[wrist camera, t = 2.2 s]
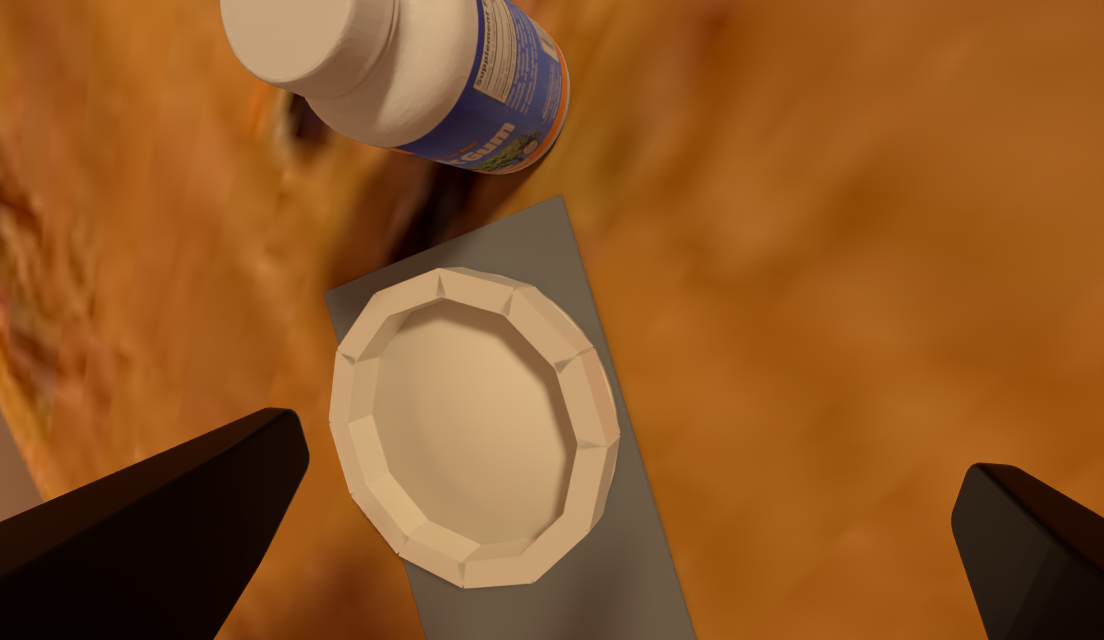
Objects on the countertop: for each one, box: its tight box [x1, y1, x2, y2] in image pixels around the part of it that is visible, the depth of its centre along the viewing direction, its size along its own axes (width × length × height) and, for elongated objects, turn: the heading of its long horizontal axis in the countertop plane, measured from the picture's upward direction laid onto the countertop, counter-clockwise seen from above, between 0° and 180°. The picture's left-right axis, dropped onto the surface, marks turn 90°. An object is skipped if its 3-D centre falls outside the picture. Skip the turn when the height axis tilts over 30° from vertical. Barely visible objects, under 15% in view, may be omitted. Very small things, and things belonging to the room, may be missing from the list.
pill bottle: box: [220, 0, 570, 174], centre depth 16 cm, size 5×5×10 cm
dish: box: [329, 267, 621, 589], centre depth 22 cm, size 12×12×2 cm
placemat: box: [324, 195, 697, 640], centre depth 22 cm, size 20×12×1 cm, turn 18°
